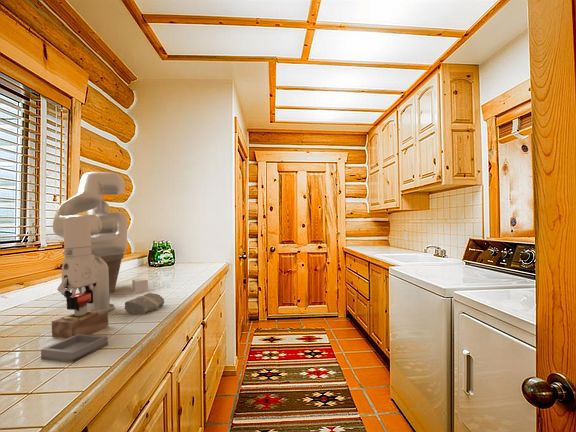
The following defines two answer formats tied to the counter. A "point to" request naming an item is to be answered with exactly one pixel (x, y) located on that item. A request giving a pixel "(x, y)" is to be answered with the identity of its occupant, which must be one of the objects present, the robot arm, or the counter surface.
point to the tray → (74, 348)
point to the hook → (82, 304)
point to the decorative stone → (144, 304)
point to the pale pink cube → (140, 285)
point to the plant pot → (111, 270)
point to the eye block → (79, 324)
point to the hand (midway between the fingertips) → (80, 305)
